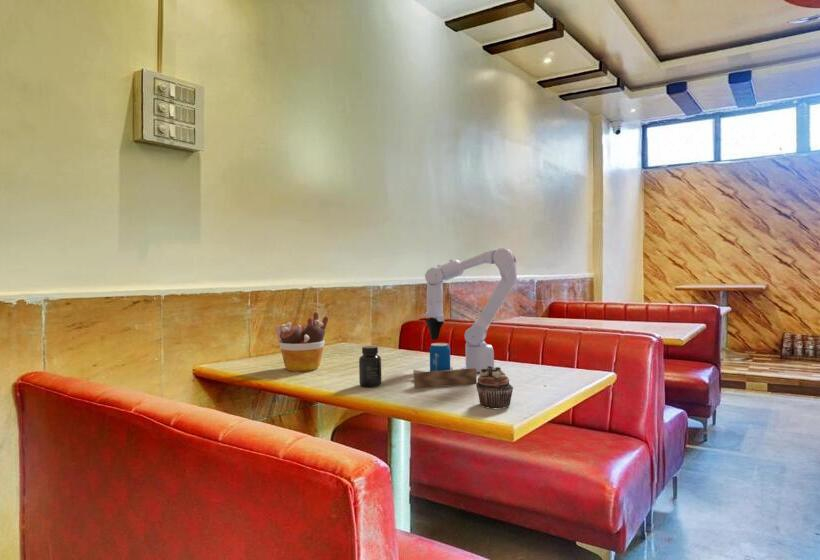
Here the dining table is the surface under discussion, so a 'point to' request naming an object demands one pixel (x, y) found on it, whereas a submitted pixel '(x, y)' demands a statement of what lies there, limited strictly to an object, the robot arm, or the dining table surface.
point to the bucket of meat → (302, 344)
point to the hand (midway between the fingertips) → (434, 339)
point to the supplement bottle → (370, 367)
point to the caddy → (444, 377)
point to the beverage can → (439, 357)
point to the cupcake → (494, 388)
